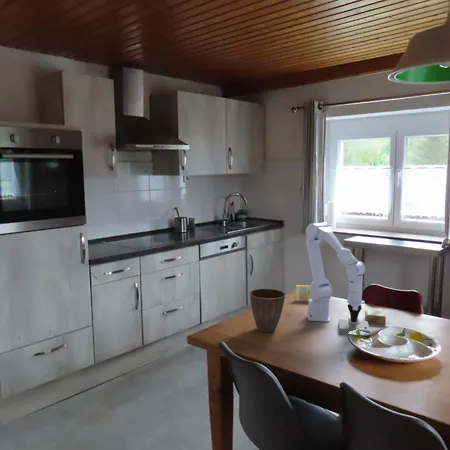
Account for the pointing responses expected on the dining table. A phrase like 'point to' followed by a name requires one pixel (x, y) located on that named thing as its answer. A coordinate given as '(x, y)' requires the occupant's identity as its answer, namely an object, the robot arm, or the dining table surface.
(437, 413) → the dining table surface
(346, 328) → the slate notch board
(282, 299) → the plant pot
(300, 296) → the candy box
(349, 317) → the cream block
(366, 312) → the walnut stand
